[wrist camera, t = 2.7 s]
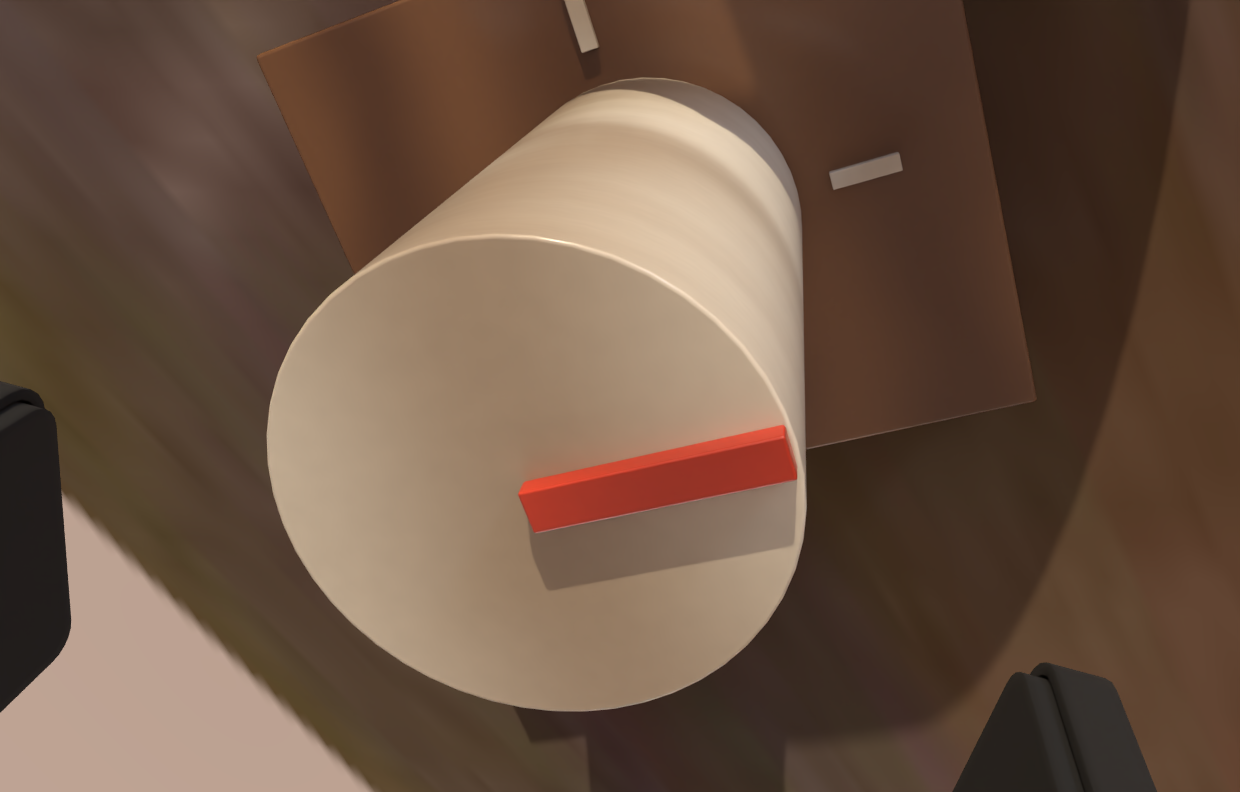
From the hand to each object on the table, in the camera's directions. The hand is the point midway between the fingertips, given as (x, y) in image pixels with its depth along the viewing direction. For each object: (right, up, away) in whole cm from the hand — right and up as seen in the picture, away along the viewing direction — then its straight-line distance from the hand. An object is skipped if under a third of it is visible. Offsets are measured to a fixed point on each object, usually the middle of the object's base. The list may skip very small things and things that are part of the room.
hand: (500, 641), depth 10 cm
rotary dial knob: (+2, +6, +12) cm, 13 cm away
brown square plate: (+2, +7, +14) cm, 16 cm away
